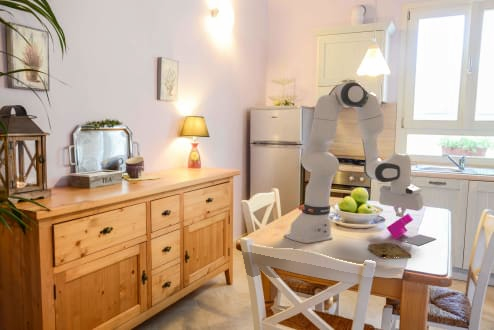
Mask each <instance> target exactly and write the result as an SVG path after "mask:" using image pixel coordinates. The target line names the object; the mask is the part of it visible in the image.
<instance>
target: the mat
mask: <svg viewBox="0 0 494 330" xmlns="http://www.w3.org/2000/svg"><path fill="white" fill-rule="evenodd" d="M436 240H437V238H435V237H432V236H428V235H423V234H416V235H413V236H411V237H408V238H405V239H402V240H401V242H403V241H407V242H409V243H408V244H410V243H411V245H414V246H416V247H417V246H418V247H420V246H423V245H426V244H428V243H430V242H433V241H436Z"/></svg>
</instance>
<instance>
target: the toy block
mask: <svg viewBox="0 0 494 330" xmlns="http://www.w3.org/2000/svg"><path fill="white" fill-rule="evenodd" d="M412 221H414V218H413V217H412V216H411V215H410V213H406V214H404V216H403V217H399V218H398V219H397V220H395V221H394V222H393V223H391V224H390V225H388V226H387V227H386V229H387V230H388V232H389V234H391V236H392V237H393V239H394V240H397V239H398V238H400V237H401V236H403V235H405V233H407V232H408V229H407V228H406V227H405V226H407V225H408V224H410V223H411V222H412Z"/></svg>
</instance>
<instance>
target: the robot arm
mask: <svg viewBox="0 0 494 330" xmlns="http://www.w3.org/2000/svg"><path fill="white" fill-rule="evenodd" d="M343 108H347V109H348V108H352V109H354V110H355V113H356V116H357V121H358V125H359V130H360V134H361V141H362V146H363V147H362V148H363V153H364V164H363V171H364V174H365V176H366V177H367V178H368V179H371V180H375V181H377V182H380V183H389V182H390V185H383V186H382V185H381V187H380V189H379V199H378V203H379V205H383V206H388V207H393V210H394V212H395V216H396V217H399V218H402V217H404V216H405V213H406V210H410V211H417V212H418V211H421V210H423V205H424V204H423V202H424V201H423V196H422V194H421V193H422V189H421V187H418V186H416V185H414V184H412V181H411V174H412V161H411V157H410V156H409V155H408V154H406V153H405V154H404V153H398V152H394V153H392V155H391V156H389V157H387V158H385V159H383V160H382V159H381V158H380V155H379V148H378V143H377V139H378V137H379V135H381V133H383V131H384V129H385V119H384V113H383V110H382V106H381V104H380V102H379V99H378V96H377V94H375V93H373V92H368V91H367V90H366V89H365V88H364V86H363V85H362V84H361V83H359V82H355V81H350V82H349V81H347V82H343V83H339V84H336V85H335V86H334V87H333V88H332V89H331V91H330V92H329V94H325V95H321V96H320V97H318V99H317V101H316V104H315V109H314V111H313V112H314V113H313V118H312V123H311V124H312V125H311V131H310V136H309V139H308V143H307V146H306V148H305V150H304V152H303V153H302V154H301V157H300V158H301V159H300V162H301V165H302V167H303V168H304V169H305V170H306V171H308V172H309V173H310V177H309V181H308V183H307V184H306V186H305V195H304V198H305V199H304V204H303V205H299V206H297V207H298V210H299V211H301V213H300V214H299V215H298V216H296V218H295V219H294V220H293V221H292V222H291V225H290V228H289V229H290V231H287V232H286V233H284V237H285V238H288V239H290V240H292V241H295V242H299V243H304V244H310V243H315V242H316V243H317V242H322V241H328V240H333V235H332V227H331V226H332V223H331V218H330V213H331V205H330V198H331V188H332V183H333V180H334V178H335V175H336V174H337V173H338V171H339V169H340V162H339V159H338V158H337V157H336V156H335V155H334V154H333V153H332V152H330V151H329V150H330V148H331V146H332V144H333V143H334V141H335V140H336V136H337V130H338V123H339V115H340V112H341V110H342V109H343ZM399 209H400V210H401V211H399Z"/></svg>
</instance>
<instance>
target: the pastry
mask: <svg viewBox="0 0 494 330" xmlns="http://www.w3.org/2000/svg"><path fill="white" fill-rule="evenodd" d="M367 247H368V248H369V250H370V251H371V252H372V253H373V252H374V253H373V254H375V255H376V256H377V255H378V256H379V258H380V257H385V258H391V259H397V258H396V257H408V258H407V259H411V258H412V254H411V253H410V252H409V251H407V250H406V249H403V247H402V248H401V246H399V245H397V244H395V243H391V242H382V243H379V242H377V243H370V244H368V245H367ZM378 256H377V257H378ZM394 257H395V258H394ZM385 258H384V259H385Z"/></svg>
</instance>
